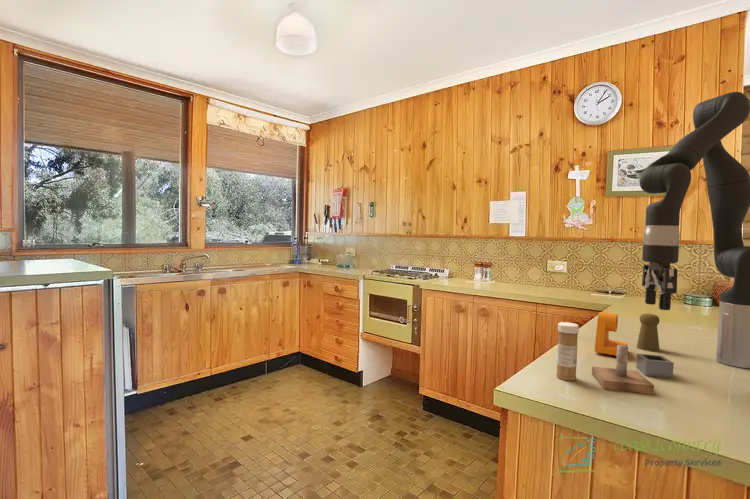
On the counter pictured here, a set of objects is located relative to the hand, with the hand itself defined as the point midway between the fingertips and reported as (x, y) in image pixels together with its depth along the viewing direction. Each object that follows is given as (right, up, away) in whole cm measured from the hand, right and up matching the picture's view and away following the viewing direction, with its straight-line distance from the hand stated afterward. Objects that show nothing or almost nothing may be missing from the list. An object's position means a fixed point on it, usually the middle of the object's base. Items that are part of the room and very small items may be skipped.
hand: (656, 306), depth 102 cm
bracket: (-1, -17, +18) cm, 25 cm away
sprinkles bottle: (-25, -17, -4) cm, 31 cm away
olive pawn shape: (+14, -17, +24) cm, 32 cm away
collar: (0, -17, +1) cm, 17 cm away
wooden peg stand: (-14, -17, -7) cm, 23 cm away
